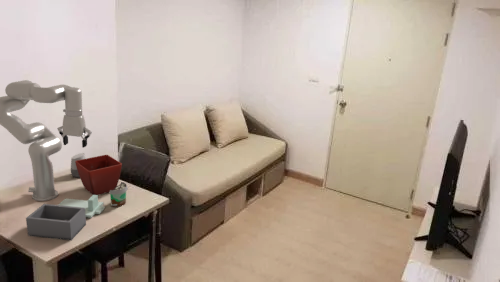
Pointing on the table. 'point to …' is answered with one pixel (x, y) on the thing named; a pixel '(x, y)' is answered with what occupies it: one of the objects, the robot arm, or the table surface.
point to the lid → (86, 205)
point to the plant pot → (99, 173)
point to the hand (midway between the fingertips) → (75, 145)
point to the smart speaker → (73, 164)
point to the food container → (118, 195)
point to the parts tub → (56, 222)
